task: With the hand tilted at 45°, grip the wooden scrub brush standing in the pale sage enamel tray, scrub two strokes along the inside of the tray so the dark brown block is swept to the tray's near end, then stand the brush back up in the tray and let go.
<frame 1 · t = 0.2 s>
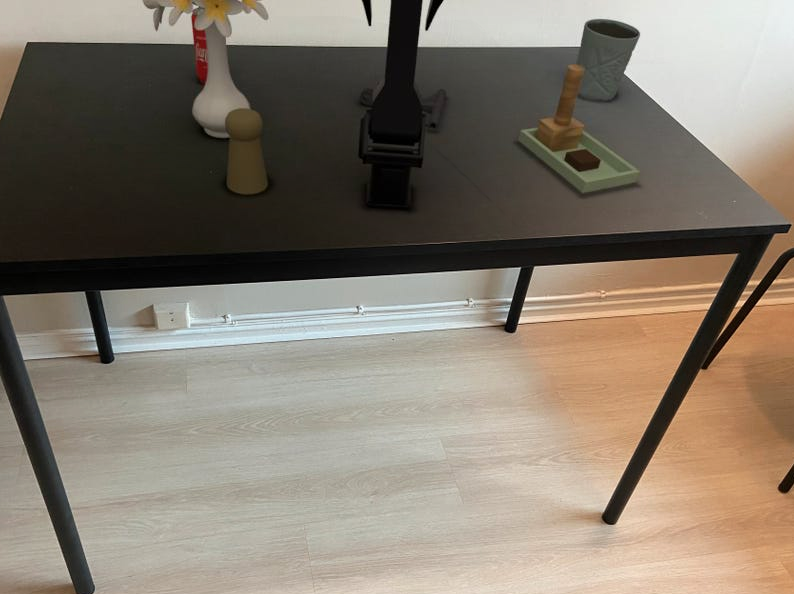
hand: (398, 27, 115), 15 cm above the table, tool pointing down, fingers open, 9 cm apart
flower vase: (219, 132, 117), on the table
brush: (555, 145, 119), point 1 cm above the table, touching tray
tray: (574, 163, 116), on the table
bracket: (400, 109, 127), on the table
beverage can: (212, 81, 131), on the table
brown pawn: (247, 184, 105), on the table
dark brown block: (581, 164, 115), point 1 cm above the table, touching tray
grey-green cup: (593, 93, 139), on the table
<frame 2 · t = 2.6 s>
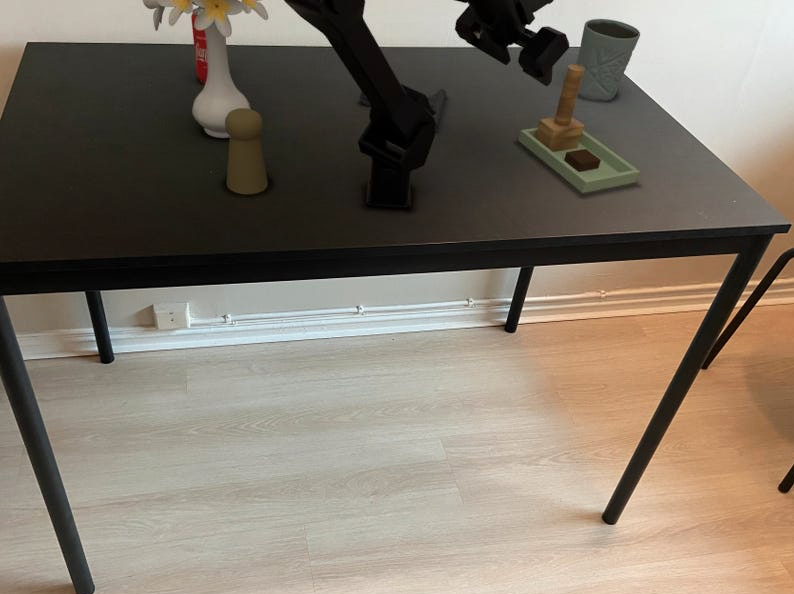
hand: (527, 72, 109), 13 cm above the table, tool tilted 40°, fingers open, 9 cm apart
nothing on the table moved.
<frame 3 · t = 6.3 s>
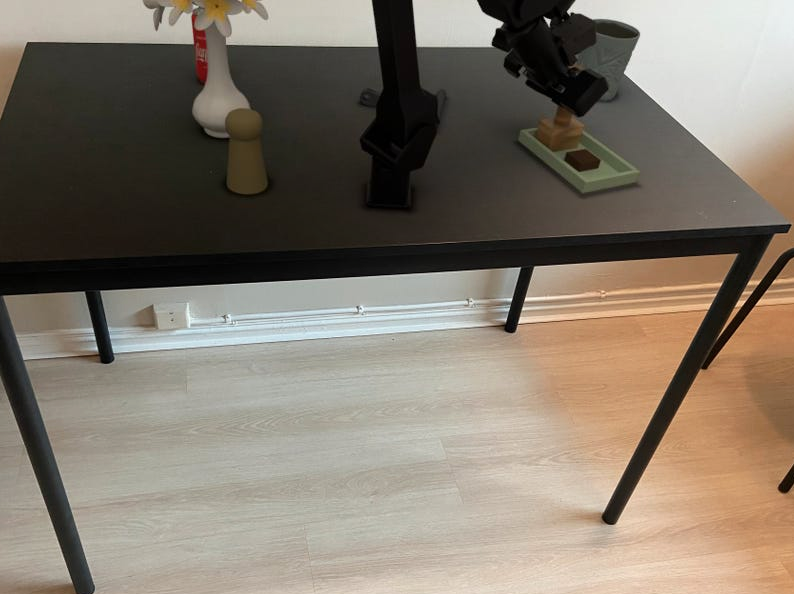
hand: (572, 106, 115), 7 cm above the table, tool tilted 45°, fingers closed on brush, 2 cm apart
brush: (555, 145, 119), point 1 cm above the table, touching gripper, tray
everything else where it was.
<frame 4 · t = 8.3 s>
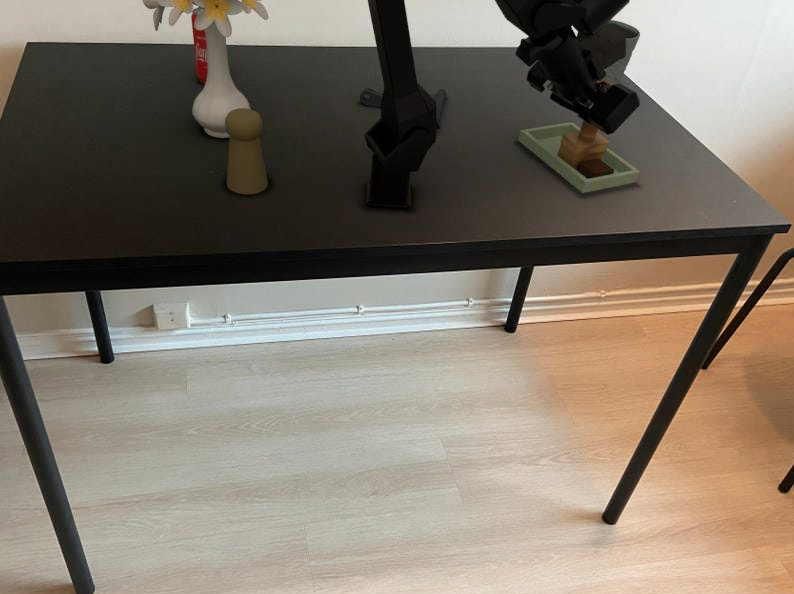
hand: (598, 120, 111), 8 cm above the table, tool tilted 45°, fingers closed on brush, 2 cm apart
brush: (578, 160, 115), point 1 cm above the table, touching gripper
dark brown block: (594, 174, 113), point 1 cm above the table, touching tray
everything else where it was.
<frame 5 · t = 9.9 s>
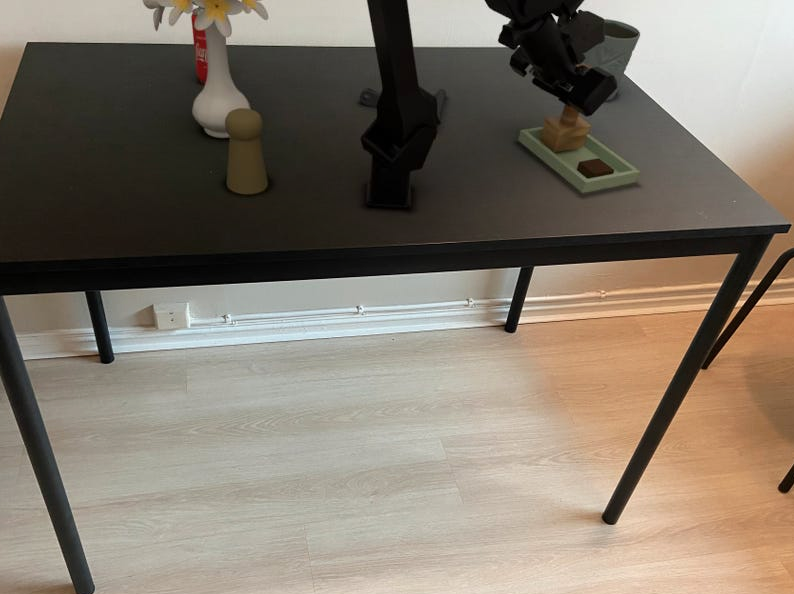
hand: (579, 105, 114), 8 cm above the table, tool tilted 45°, fingers closed on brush, 2 cm apart
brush: (561, 144, 118), point 1 cm above the table, touching gripper
everything else where it was.
when the fingers open (7 cm above the table, at t = 13.5 s): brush stays where it is, resting on tray.
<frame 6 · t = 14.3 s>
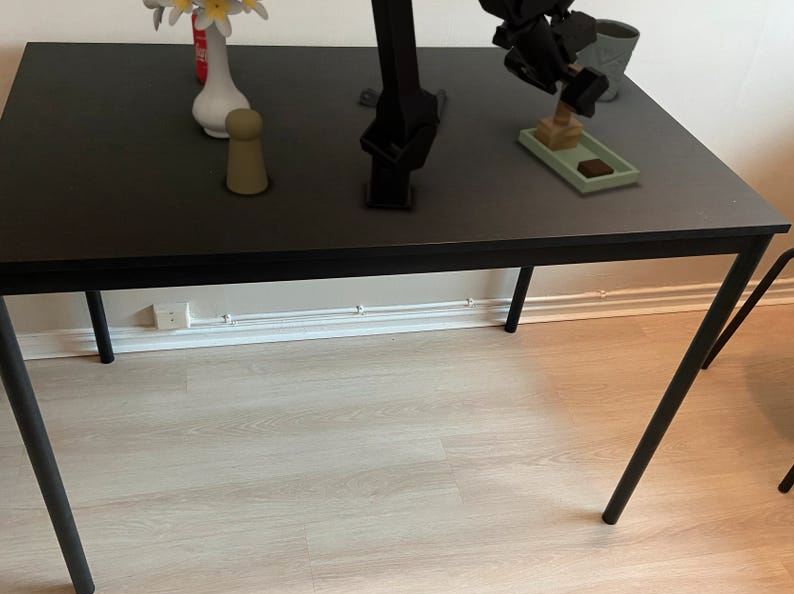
hand: (573, 104, 115), 7 cm above the table, tool tilted 45°, fingers open, 9 cm apart
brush: (555, 144, 120), point 1 cm above the table, touching tray
everything else where it was.
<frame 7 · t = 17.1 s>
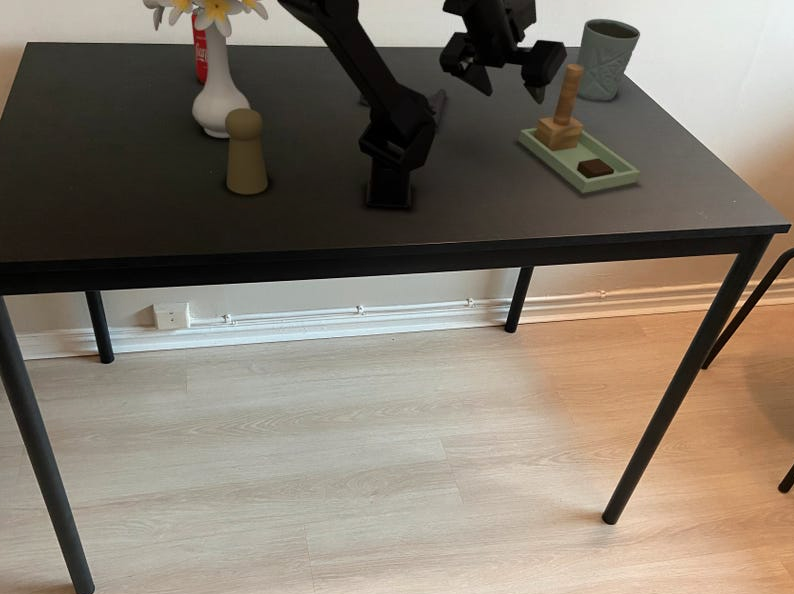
hand: (515, 98, 110), 10 cm above the table, tool tilted 35°, fingers open, 9 cm apart
nothing on the table moved.
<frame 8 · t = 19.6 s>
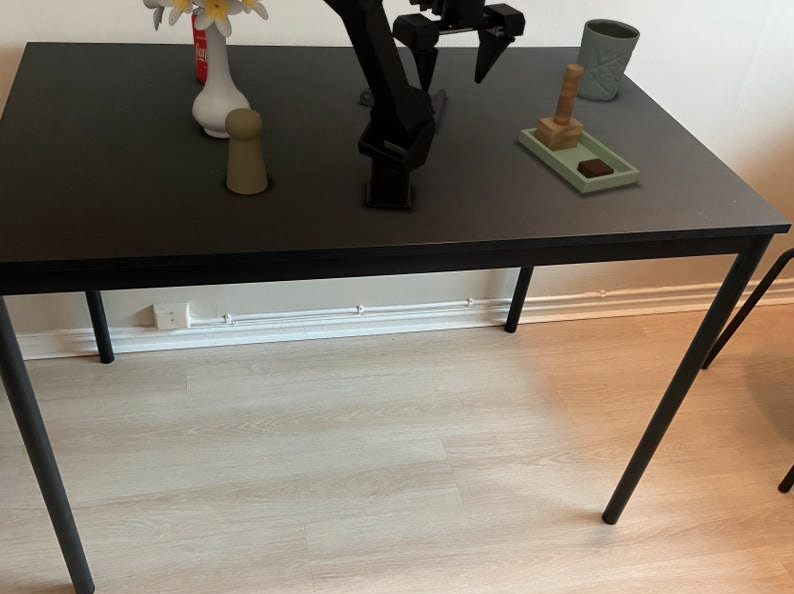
hand: (451, 87, 103), 13 cm above the table, tool pointing down, fingers open, 9 cm apart
nothing on the table moved.
at the end: dark brown block inside the target area in the tray (1.0 cm from its centre), point 0.6 cm above the tray's base; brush 0.3 cm from the target spot in the tray, point 0.6 cm above the tray's base; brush tilted 0° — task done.
